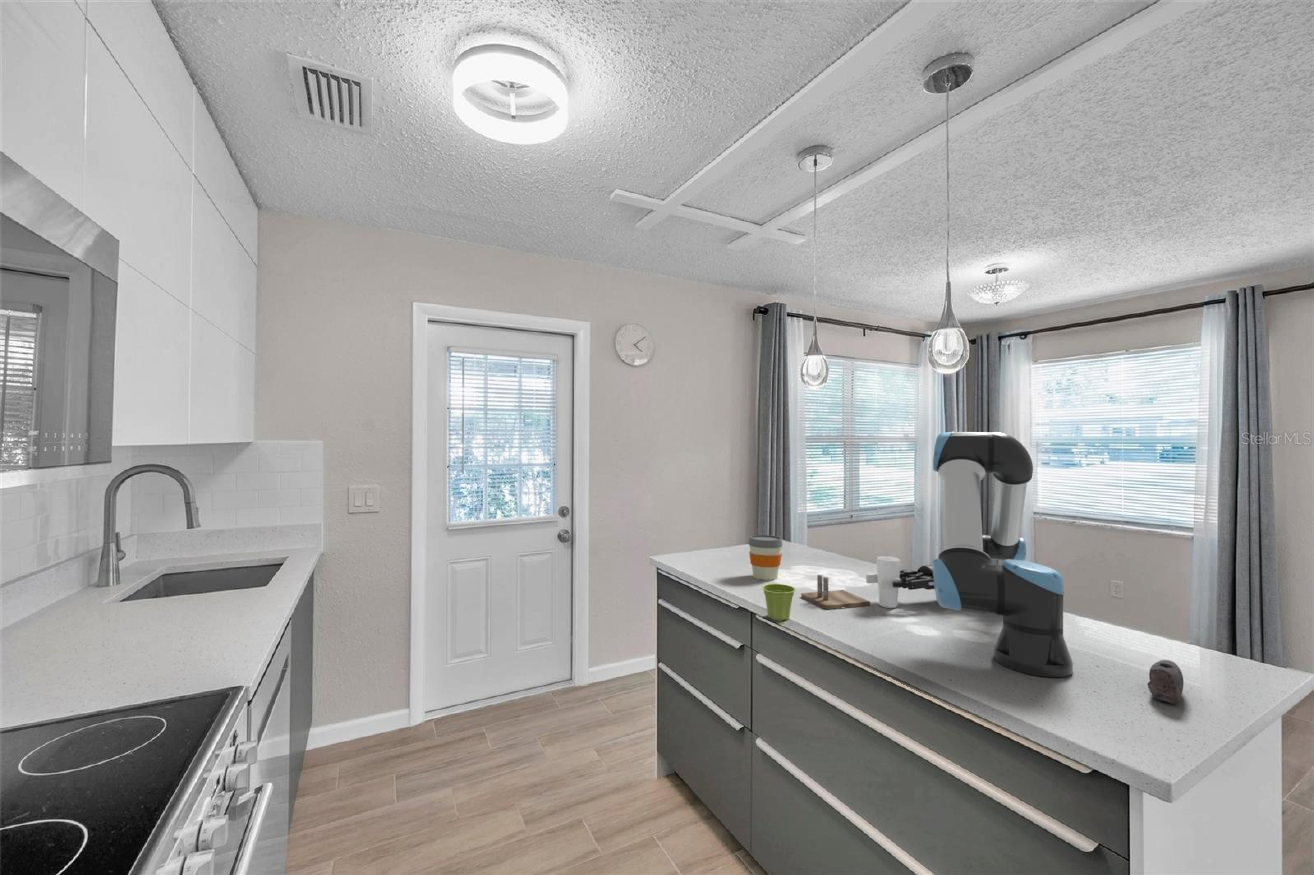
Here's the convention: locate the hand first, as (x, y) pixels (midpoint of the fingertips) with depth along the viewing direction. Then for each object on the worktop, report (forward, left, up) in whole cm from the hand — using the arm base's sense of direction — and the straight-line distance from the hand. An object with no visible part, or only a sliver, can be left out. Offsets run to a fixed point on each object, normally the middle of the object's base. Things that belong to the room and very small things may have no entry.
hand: (874, 581), depth 170 cm
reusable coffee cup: (+8, +44, -8) cm, 46 cm away
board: (-2, +12, -8) cm, 15 cm away
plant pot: (-30, +16, -8) cm, 35 cm away
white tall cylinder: (+4, -3, -8) cm, 10 cm away
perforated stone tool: (-17, -67, -8) cm, 69 cm away
